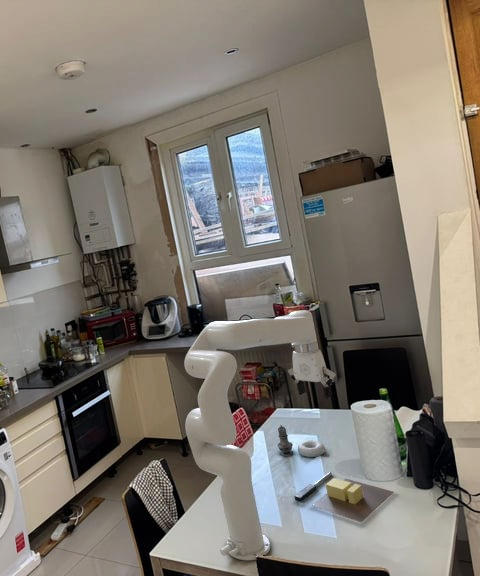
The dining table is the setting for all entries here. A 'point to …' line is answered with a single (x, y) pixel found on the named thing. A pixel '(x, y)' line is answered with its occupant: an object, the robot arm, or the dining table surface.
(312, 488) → the knife
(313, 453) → the donut
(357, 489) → the butter pat
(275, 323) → the robot arm
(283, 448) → the grey chess piece
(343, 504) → the butter board
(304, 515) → the dining table surface
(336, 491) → the butter block
